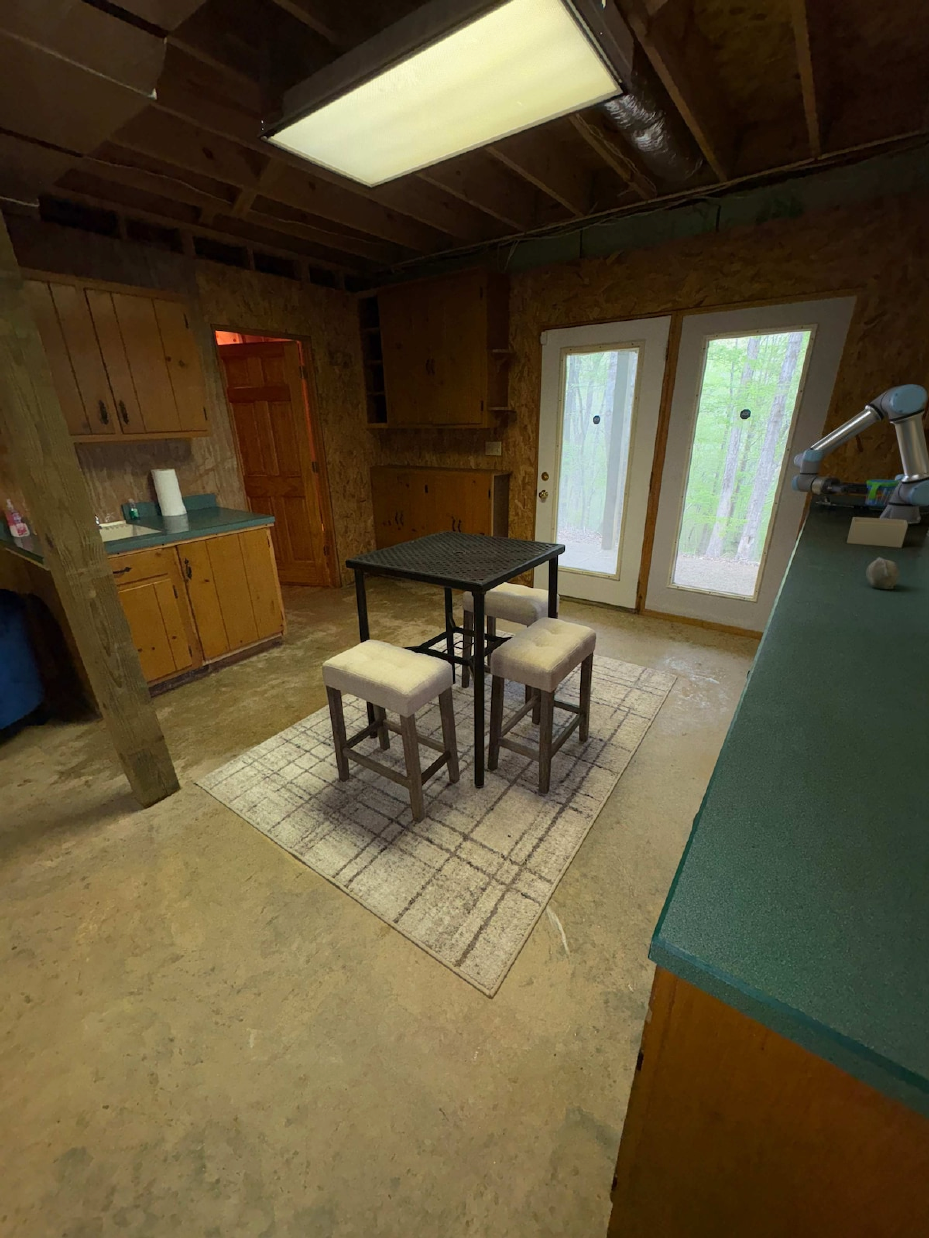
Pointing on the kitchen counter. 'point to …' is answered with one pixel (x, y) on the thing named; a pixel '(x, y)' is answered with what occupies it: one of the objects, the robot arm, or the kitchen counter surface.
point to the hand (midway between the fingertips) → (877, 489)
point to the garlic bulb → (882, 574)
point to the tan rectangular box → (877, 531)
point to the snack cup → (880, 491)
